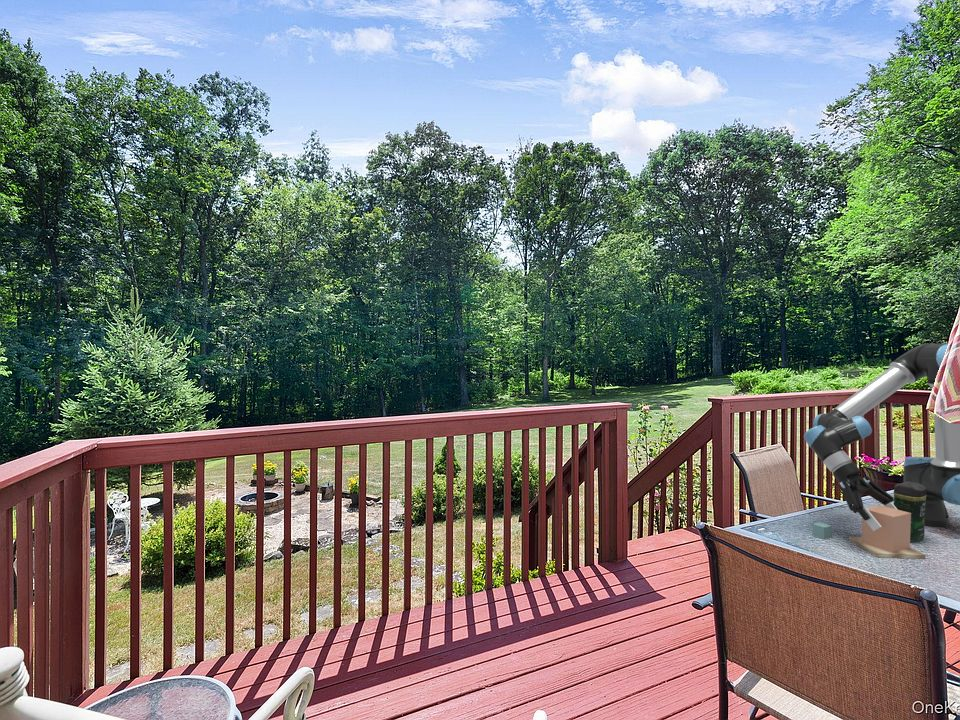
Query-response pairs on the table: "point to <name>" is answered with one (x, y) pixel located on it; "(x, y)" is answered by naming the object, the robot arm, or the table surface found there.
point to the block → (822, 530)
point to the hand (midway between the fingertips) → (890, 525)
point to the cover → (888, 529)
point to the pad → (883, 553)
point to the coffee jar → (912, 506)
